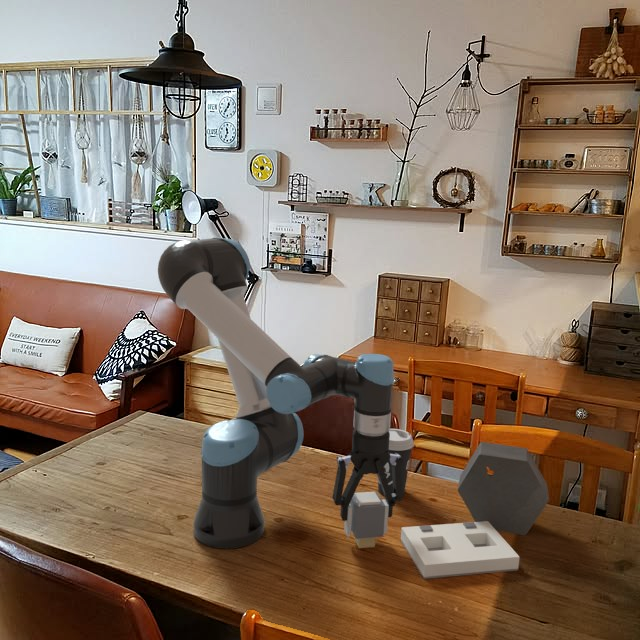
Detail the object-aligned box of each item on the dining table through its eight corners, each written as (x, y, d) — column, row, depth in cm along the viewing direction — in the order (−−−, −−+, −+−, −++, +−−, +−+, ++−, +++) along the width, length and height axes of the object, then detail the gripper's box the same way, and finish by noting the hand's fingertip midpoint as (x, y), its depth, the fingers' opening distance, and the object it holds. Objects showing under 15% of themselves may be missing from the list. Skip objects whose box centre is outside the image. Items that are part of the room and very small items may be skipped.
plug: (354, 551, 133) (357, 504, 131) (347, 536, 139) (350, 491, 137) (382, 549, 134) (385, 503, 132) (374, 534, 140) (377, 489, 138)
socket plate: (423, 578, 125) (425, 563, 124) (400, 540, 138) (401, 525, 138) (518, 570, 129) (519, 554, 128) (486, 533, 142) (488, 519, 142)
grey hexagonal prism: (558, 505, 146) (514, 427, 146) (561, 521, 139) (515, 439, 139) (491, 531, 152) (448, 455, 152) (490, 548, 145) (445, 469, 144)
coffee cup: (409, 502, 155) (413, 444, 152) (369, 497, 157) (373, 439, 154) (411, 485, 164) (415, 429, 161) (374, 480, 166) (377, 425, 163)
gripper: (327, 439, 126) (322, 545, 130) (424, 434, 130) (416, 537, 135) (319, 424, 133) (315, 526, 138) (411, 421, 137) (404, 519, 142)
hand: (365, 531), depth 136 cm, fingers open, 7 cm apart
